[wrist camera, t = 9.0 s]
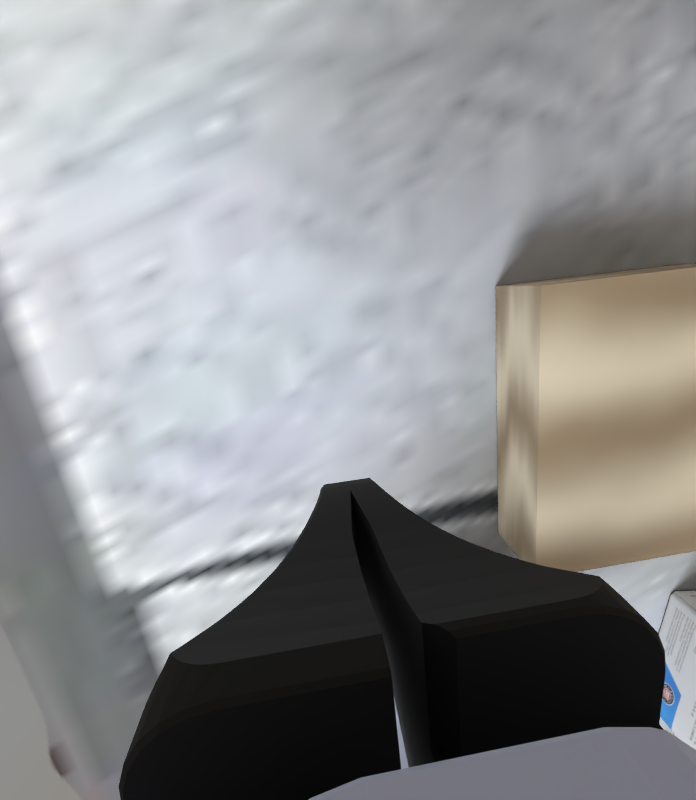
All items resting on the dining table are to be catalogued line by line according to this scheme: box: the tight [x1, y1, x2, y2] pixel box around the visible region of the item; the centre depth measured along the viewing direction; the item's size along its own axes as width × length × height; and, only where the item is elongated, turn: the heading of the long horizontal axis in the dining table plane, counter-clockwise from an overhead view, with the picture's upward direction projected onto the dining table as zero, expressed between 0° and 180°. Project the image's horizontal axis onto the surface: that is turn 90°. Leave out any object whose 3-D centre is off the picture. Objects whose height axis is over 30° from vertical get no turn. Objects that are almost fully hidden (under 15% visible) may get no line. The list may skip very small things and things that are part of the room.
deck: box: [496, 263, 696, 572], centre depth 21 cm, size 14×10×4 cm
